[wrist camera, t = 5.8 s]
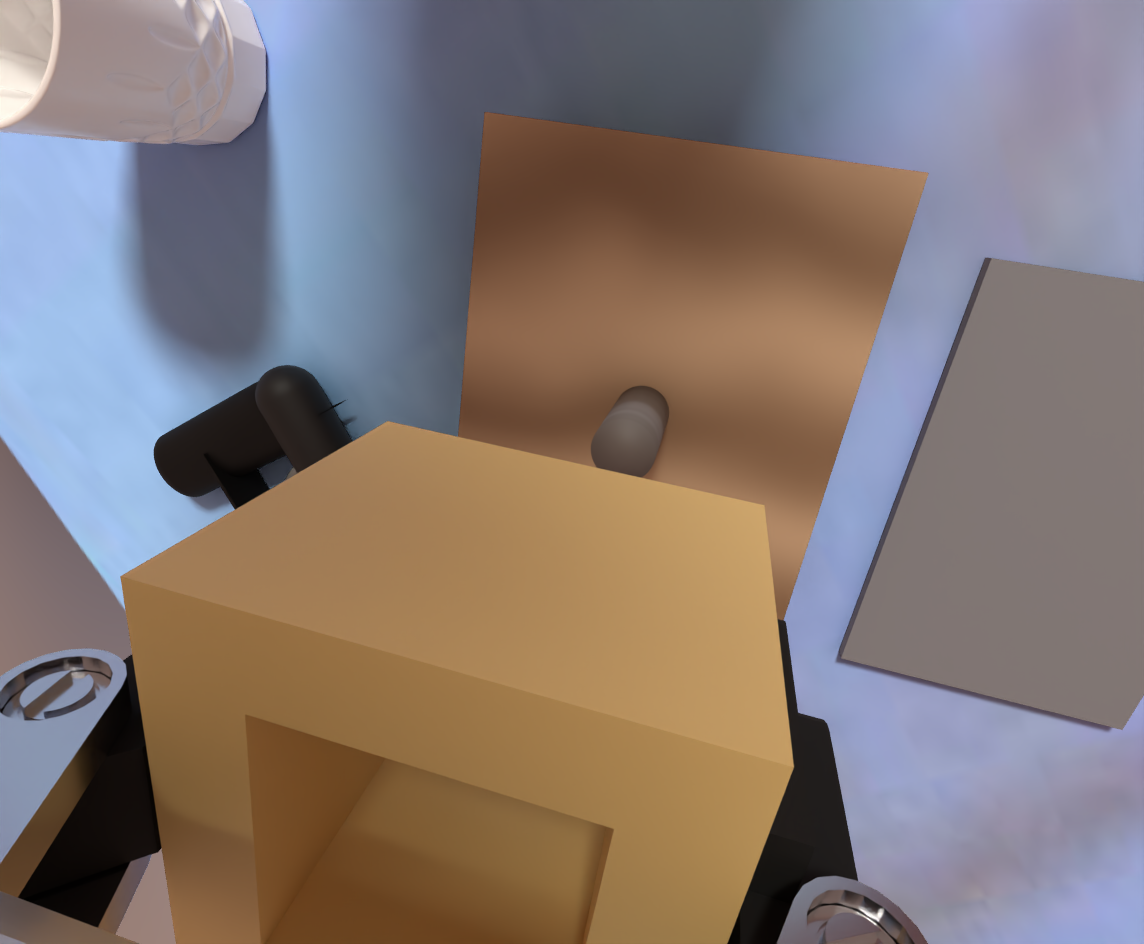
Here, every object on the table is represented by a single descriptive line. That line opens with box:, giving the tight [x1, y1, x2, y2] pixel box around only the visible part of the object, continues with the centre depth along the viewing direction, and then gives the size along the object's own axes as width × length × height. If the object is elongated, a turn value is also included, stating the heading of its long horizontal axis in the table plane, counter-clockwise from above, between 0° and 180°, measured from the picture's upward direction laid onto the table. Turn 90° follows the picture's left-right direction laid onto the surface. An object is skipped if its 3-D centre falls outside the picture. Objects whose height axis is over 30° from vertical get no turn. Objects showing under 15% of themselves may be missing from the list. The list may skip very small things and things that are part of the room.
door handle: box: [154, 365, 352, 510], centre depth 35 cm, size 3×20×16 cm
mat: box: [839, 258, 1144, 730], centre depth 26 cm, size 18×12×1 cm, turn 172°
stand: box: [458, 112, 928, 620], centre depth 24 cm, size 18×14×10 cm
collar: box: [121, 421, 794, 944], centre depth 9 cm, size 6×6×5 cm
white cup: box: [0, 0, 266, 145], centre depth 23 cm, size 8×8×10 cm
